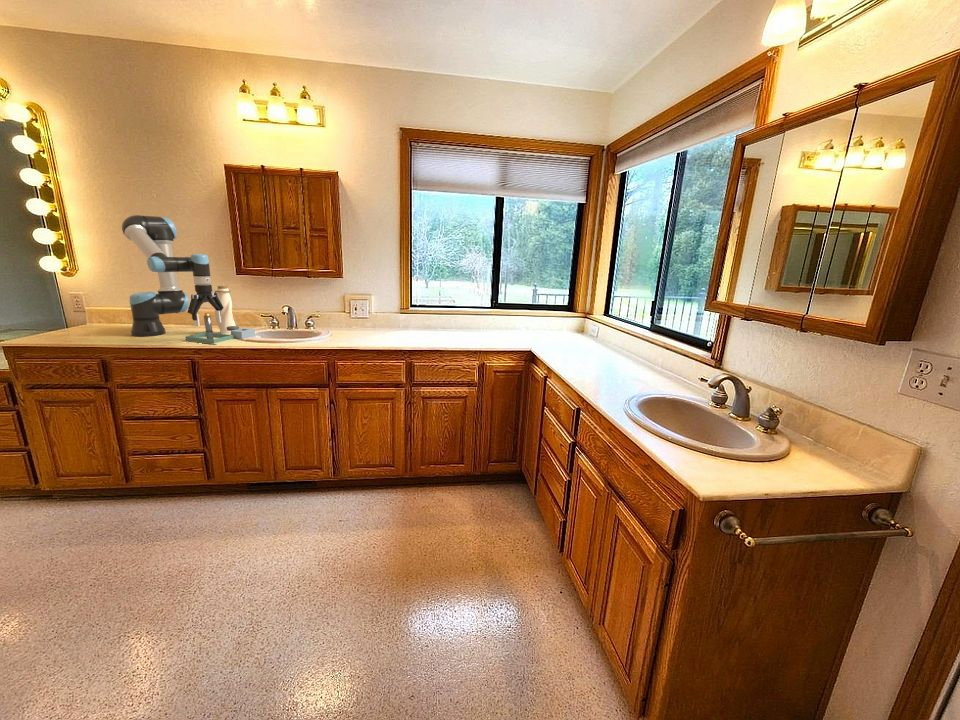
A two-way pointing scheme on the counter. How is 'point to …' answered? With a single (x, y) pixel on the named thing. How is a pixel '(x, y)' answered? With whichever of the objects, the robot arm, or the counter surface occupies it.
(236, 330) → the tensioner block
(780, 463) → the counter surface
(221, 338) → the tray
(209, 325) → the lock pin
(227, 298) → the water bottle
